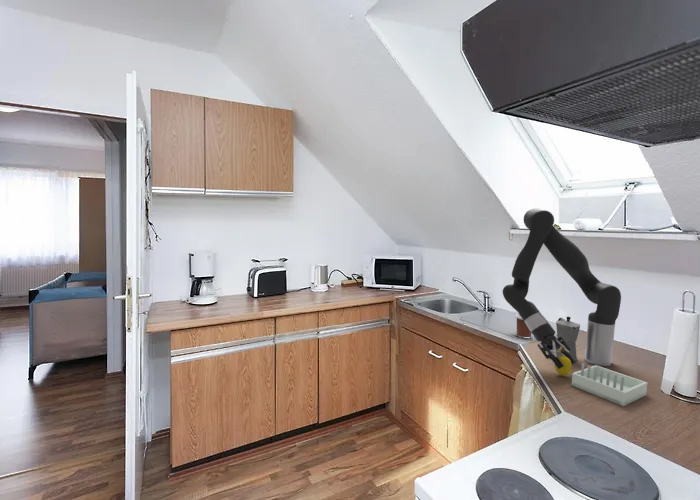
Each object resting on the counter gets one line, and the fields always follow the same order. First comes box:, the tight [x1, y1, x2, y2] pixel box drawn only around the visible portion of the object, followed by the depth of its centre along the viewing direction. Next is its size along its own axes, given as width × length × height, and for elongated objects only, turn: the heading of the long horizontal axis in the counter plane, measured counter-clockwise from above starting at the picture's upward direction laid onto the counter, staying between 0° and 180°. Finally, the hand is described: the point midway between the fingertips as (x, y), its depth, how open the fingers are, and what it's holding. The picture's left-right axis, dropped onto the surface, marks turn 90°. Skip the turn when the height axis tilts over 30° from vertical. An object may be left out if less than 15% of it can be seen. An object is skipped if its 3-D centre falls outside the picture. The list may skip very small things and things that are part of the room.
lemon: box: [554, 355, 573, 377], centre depth 134 cm, size 6×6×8 cm
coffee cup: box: [514, 312, 532, 338], centre depth 180 cm, size 9×9×12 cm
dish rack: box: [571, 363, 648, 407], centre depth 123 cm, size 16×16×8 cm
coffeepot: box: [555, 316, 581, 362], centre depth 153 cm, size 15×9×18 cm, turn 171°
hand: (567, 365), depth 132 cm, fingers open, 7 cm apart
